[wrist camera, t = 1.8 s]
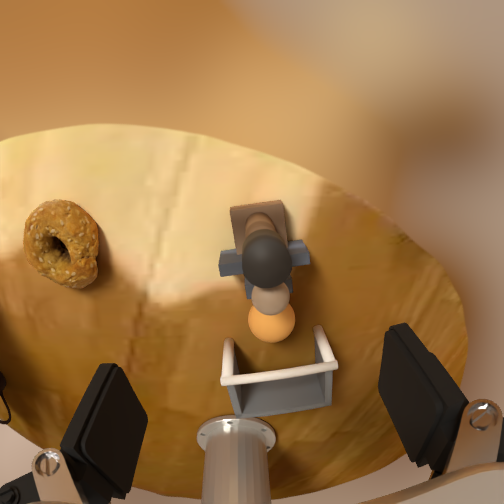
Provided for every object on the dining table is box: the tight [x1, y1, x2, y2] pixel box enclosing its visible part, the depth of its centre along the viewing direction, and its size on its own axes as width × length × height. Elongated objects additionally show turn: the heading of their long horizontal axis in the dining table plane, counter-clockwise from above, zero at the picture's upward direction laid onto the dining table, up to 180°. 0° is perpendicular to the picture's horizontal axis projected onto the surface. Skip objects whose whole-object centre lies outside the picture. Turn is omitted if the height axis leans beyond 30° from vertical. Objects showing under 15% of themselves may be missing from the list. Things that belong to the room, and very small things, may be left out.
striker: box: [218, 200, 310, 316], centre depth 26 cm, size 6×8×12 cm
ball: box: [248, 303, 295, 343], centre depth 32 cm, size 5×5×5 cm
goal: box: [220, 325, 338, 419], centre depth 34 cm, size 8×12×8 cm
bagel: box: [23, 200, 99, 288], centre depth 29 cm, size 10×11×5 cm
